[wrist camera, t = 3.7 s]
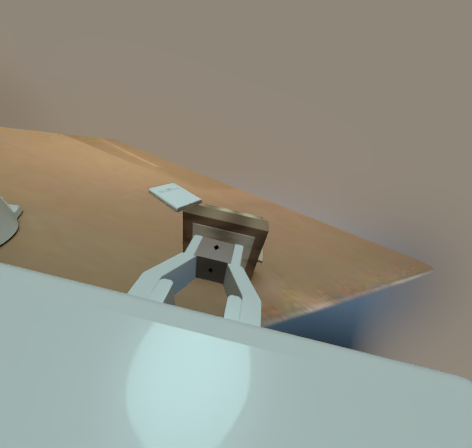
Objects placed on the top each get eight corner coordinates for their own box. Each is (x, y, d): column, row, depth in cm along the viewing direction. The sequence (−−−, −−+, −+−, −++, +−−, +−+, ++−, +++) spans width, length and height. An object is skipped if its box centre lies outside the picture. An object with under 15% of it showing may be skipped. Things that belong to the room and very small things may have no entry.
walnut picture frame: (182, 265, 30) (182, 212, 23) (188, 254, 32) (189, 203, 25) (250, 281, 29) (268, 232, 23) (251, 269, 32) (268, 221, 25)
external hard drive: (176, 213, 42) (148, 193, 47) (201, 204, 48) (174, 187, 53) (176, 208, 41) (148, 188, 46) (202, 199, 47) (174, 182, 52)
